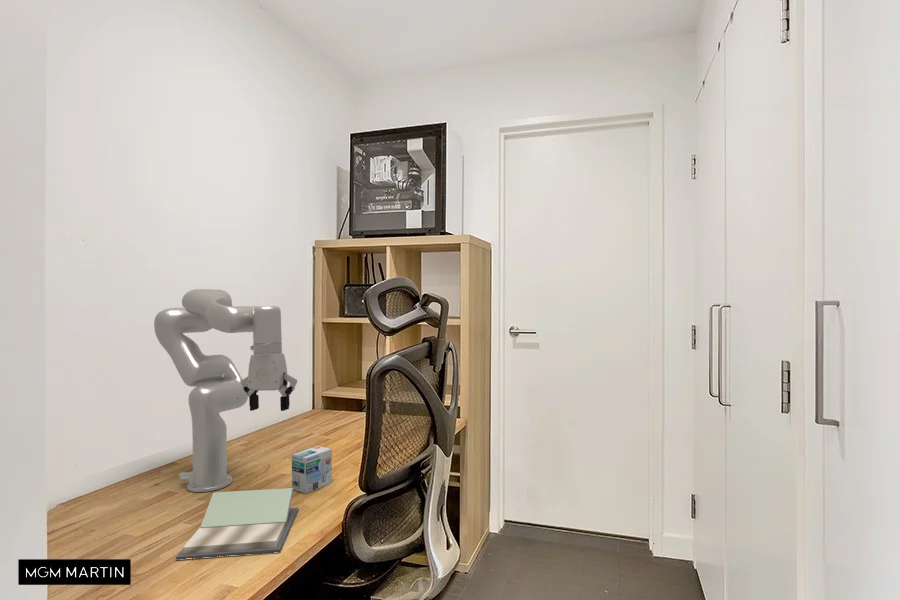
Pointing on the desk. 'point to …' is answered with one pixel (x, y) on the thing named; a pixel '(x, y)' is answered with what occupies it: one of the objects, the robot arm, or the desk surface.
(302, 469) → the light bulb box
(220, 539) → the oak plank
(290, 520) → the underlay mat
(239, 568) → the desk surface
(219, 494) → the sage plank
